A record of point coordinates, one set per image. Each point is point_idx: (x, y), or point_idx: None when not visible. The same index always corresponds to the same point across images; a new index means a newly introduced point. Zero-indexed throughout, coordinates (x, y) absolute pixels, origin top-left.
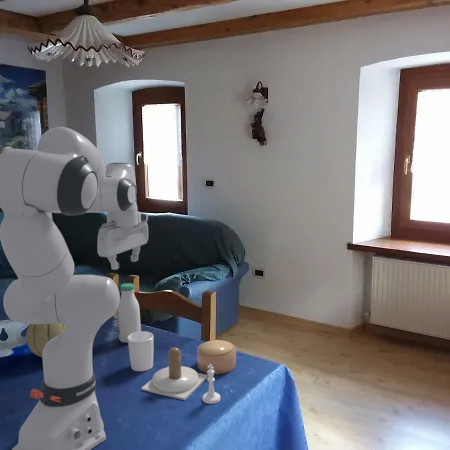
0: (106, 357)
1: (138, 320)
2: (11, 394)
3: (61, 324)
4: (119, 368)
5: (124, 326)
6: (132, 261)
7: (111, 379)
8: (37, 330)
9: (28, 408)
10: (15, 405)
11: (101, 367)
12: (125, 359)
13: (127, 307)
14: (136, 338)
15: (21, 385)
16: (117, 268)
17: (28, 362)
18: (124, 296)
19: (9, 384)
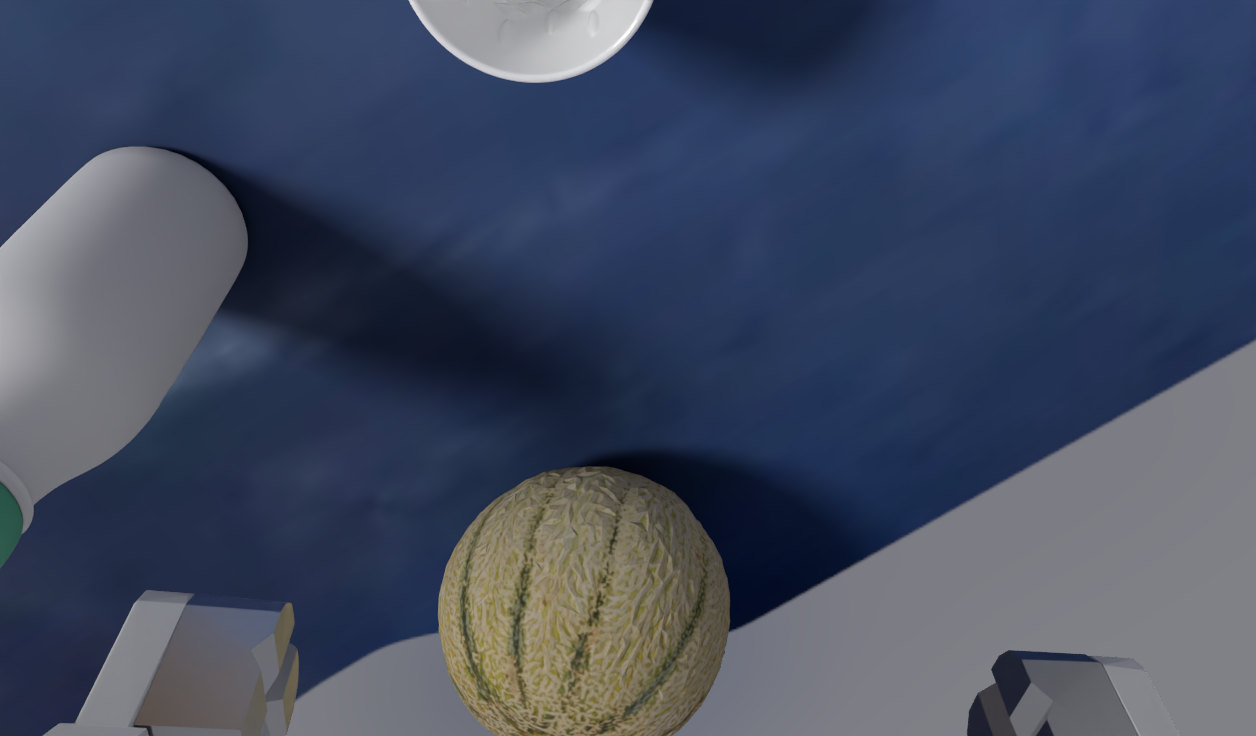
0: (500, 225)
1: (71, 221)
2: (1024, 443)
3: (605, 609)
4: (624, 51)
5: (203, 286)
6: (296, 656)
7: (791, 21)
8: (714, 670)
9: (1167, 293)
10: (1133, 366)
11: (644, 180)
12: (480, 82)
13: (107, 360)
14: (467, 24)
15: (932, 455)
16: (1080, 658)
17: None
18: (46, 462)
19: (927, 505)
